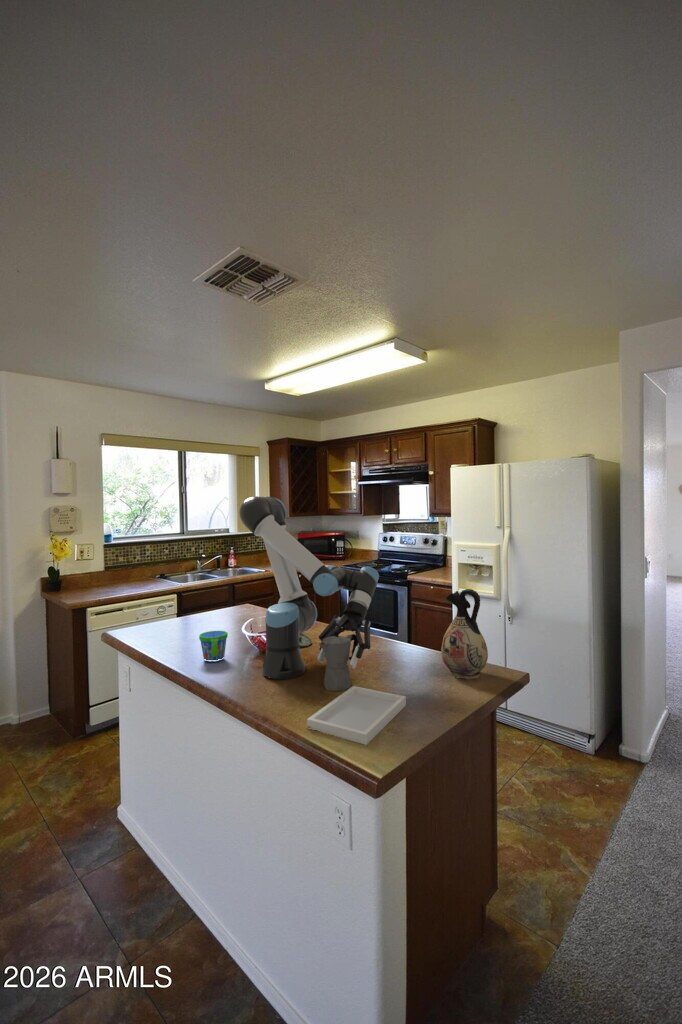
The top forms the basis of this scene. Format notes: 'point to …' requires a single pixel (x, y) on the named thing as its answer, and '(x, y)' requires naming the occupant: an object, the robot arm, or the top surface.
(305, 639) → the lid
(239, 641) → the top surface
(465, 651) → the ceramic jug
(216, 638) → the snack cup
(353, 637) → the coffeepot
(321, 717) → the docking tray
